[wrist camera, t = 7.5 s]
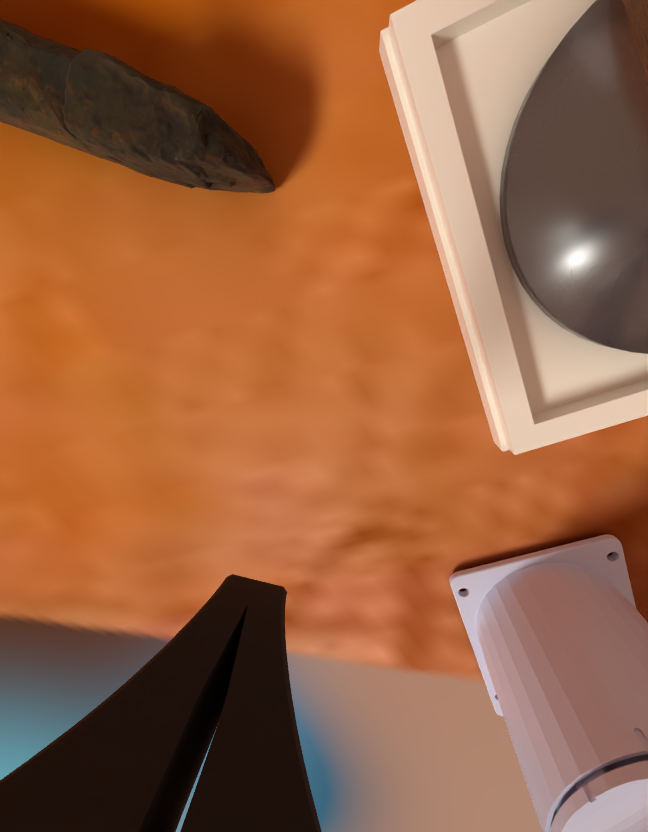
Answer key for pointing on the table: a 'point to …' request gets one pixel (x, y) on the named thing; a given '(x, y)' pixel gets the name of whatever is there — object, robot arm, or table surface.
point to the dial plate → (497, 213)
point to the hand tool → (121, 115)
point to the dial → (585, 180)
